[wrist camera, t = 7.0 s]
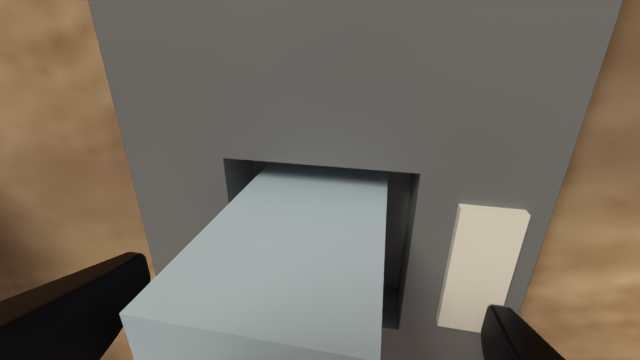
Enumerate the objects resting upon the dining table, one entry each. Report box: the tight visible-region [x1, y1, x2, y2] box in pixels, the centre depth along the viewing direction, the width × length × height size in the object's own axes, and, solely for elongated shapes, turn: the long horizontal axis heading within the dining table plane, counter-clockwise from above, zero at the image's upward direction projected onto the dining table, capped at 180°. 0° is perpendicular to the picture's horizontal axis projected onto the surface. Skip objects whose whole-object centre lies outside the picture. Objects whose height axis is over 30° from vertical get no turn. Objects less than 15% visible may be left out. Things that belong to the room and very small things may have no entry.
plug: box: [119, 162, 388, 360], centre depth 8 cm, size 4×4×8 cm
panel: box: [88, 0, 623, 360], centre depth 9 cm, size 12×24×3 cm, turn 0°
